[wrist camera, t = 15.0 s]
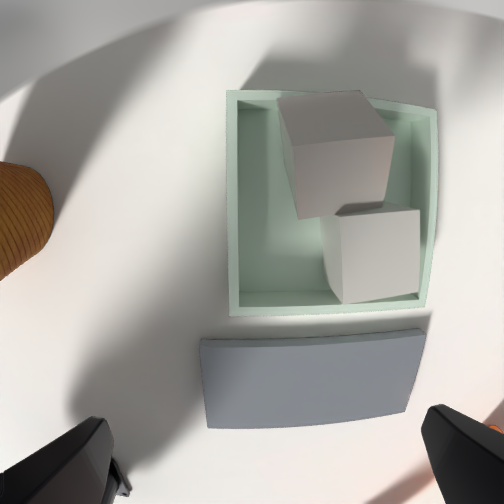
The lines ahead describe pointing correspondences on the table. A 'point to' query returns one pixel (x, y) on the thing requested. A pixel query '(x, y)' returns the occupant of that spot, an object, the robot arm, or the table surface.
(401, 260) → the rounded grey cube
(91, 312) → the table surface
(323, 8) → the table surface
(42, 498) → the robot arm
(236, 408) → the slate board
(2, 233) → the disposable coffee cup
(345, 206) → the grey stone cube
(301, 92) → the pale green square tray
